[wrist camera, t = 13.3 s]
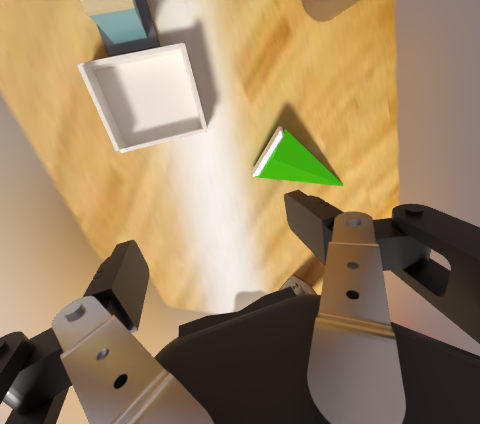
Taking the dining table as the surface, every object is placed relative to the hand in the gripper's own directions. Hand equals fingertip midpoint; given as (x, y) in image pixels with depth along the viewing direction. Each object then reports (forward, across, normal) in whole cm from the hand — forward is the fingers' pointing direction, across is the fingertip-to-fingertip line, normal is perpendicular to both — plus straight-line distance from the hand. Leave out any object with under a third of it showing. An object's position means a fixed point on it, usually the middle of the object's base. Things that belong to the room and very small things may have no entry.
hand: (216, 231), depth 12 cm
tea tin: (+35, +4, -20) cm, 41 cm away
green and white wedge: (+36, -22, +9) cm, 43 cm away
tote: (+36, +4, -9) cm, 37 cm away
